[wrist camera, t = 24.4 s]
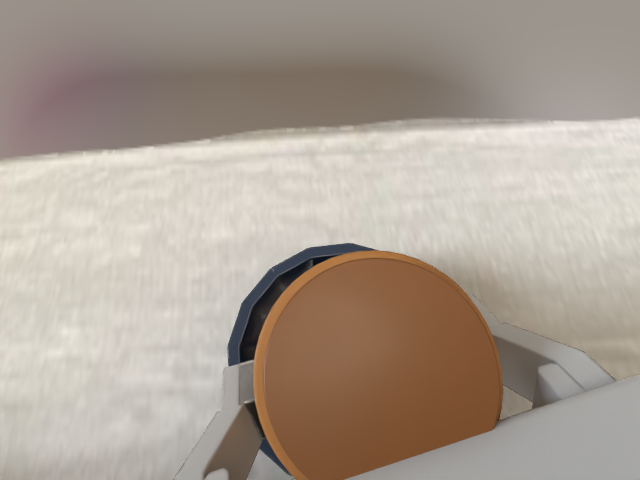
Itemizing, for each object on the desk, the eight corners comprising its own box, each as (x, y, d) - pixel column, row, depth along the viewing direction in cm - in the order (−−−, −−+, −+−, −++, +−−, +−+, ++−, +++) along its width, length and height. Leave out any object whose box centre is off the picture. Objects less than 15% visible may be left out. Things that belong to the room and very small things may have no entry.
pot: (261, 454, 23) (235, 505, 16) (249, 280, 26) (222, 257, 19) (434, 431, 24) (484, 470, 16) (402, 262, 27) (434, 232, 19)
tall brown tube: (293, 431, 16) (257, 549, 7) (281, 302, 17) (239, 259, 8) (419, 414, 16) (549, 508, 7) (397, 288, 18) (480, 230, 9)
